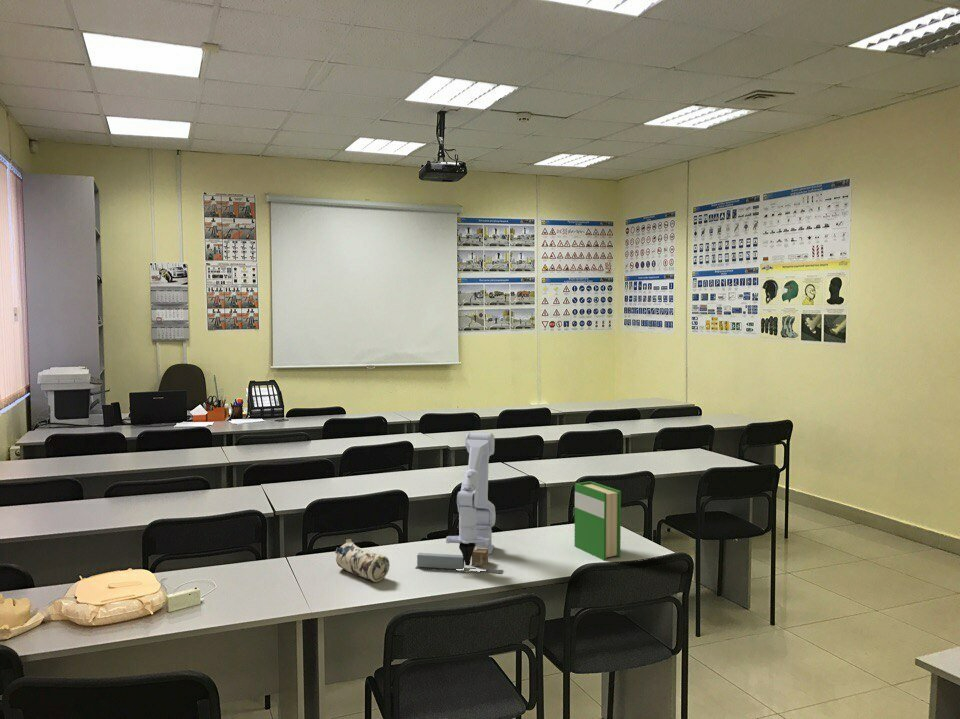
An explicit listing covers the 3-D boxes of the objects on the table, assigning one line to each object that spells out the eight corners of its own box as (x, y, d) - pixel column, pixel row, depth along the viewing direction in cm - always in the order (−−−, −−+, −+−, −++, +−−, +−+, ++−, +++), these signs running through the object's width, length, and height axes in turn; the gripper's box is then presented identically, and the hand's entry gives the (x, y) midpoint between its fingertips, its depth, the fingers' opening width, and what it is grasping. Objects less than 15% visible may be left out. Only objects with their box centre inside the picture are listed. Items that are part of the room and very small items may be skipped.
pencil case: (333, 570, 246) (333, 542, 245) (354, 564, 252) (353, 536, 251) (372, 587, 231) (371, 557, 230) (393, 580, 237) (392, 551, 236)
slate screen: (419, 564, 250) (419, 552, 250) (464, 566, 247) (464, 555, 247) (417, 566, 247) (417, 555, 247) (462, 569, 245) (462, 557, 244)
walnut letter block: (474, 561, 255) (474, 546, 254) (488, 561, 254) (488, 547, 254) (471, 566, 250) (471, 551, 249) (485, 567, 249) (485, 552, 248)
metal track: (417, 565, 250) (417, 564, 250) (503, 570, 245) (503, 569, 245) (415, 568, 247) (415, 567, 247) (501, 573, 242) (501, 573, 242)
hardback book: (620, 557, 258) (620, 491, 257) (603, 560, 255) (604, 493, 253) (590, 543, 274) (590, 481, 273) (574, 546, 270) (574, 483, 269)
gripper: (444, 527, 242) (444, 567, 243) (486, 529, 239) (486, 569, 240) (448, 521, 249) (448, 560, 250) (490, 523, 246) (490, 562, 247)
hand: (467, 564), depth 245 cm, fingers closed
